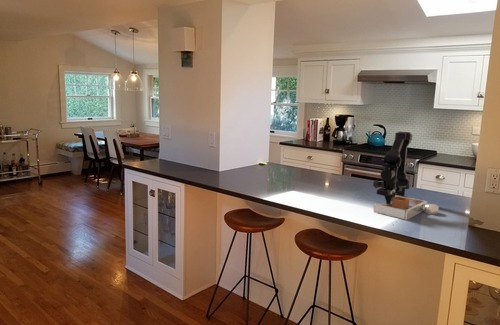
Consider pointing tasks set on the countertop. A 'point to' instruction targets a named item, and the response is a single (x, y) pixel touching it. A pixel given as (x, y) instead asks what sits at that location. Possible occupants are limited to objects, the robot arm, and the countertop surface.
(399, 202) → the bracket
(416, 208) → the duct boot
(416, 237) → the countertop surface
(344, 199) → the countertop surface
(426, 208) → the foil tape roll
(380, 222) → the countertop surface
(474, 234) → the countertop surface
